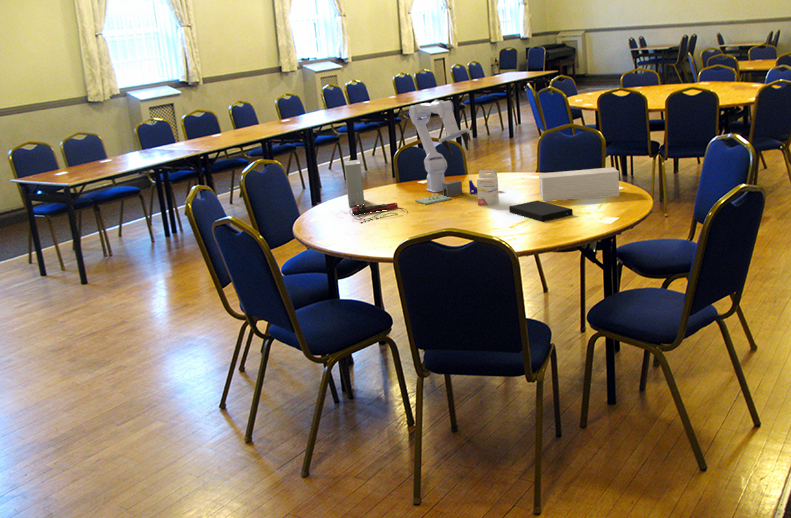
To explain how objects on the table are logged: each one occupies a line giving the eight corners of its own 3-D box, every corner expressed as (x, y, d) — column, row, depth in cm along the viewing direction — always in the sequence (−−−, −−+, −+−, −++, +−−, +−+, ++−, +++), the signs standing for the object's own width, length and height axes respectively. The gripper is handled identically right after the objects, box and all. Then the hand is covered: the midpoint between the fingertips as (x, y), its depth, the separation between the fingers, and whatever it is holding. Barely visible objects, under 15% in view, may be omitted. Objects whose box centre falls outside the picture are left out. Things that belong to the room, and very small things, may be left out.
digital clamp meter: (343, 205, 325) (395, 197, 331) (344, 215, 326) (396, 206, 332) (355, 215, 303) (411, 205, 309) (356, 225, 304) (412, 216, 311)
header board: (415, 201, 336) (414, 195, 336) (441, 196, 342) (440, 190, 341) (425, 204, 328) (424, 198, 327) (451, 199, 333) (451, 193, 332)
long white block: (543, 202, 309) (542, 177, 306) (540, 197, 320) (539, 173, 317) (619, 196, 306) (618, 171, 303) (613, 191, 316) (613, 167, 313)
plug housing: (443, 195, 344) (442, 183, 343) (457, 192, 347) (456, 180, 346) (447, 196, 340) (446, 184, 339) (462, 193, 343) (461, 181, 342)
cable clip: (469, 194, 341) (468, 182, 339) (469, 192, 345) (468, 180, 343) (495, 192, 339) (494, 179, 338) (494, 190, 344) (494, 178, 342)
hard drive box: (365, 205, 339) (360, 163, 334) (349, 207, 339) (343, 165, 333) (364, 199, 354) (359, 159, 349) (348, 201, 354) (343, 160, 348)
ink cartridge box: (477, 205, 315) (475, 172, 311) (480, 203, 320) (478, 170, 316) (497, 205, 312) (495, 171, 308) (499, 202, 317) (497, 169, 313)
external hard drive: (538, 207, 303) (537, 200, 302) (572, 216, 282) (572, 208, 281) (509, 213, 297) (509, 206, 297) (542, 223, 277) (542, 215, 276)
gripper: (433, 129, 330) (442, 156, 328) (463, 117, 326) (472, 145, 324) (437, 132, 337) (446, 159, 335) (466, 121, 333) (475, 148, 330)
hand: (459, 152), depth 330 cm, fingers open, 7 cm apart
